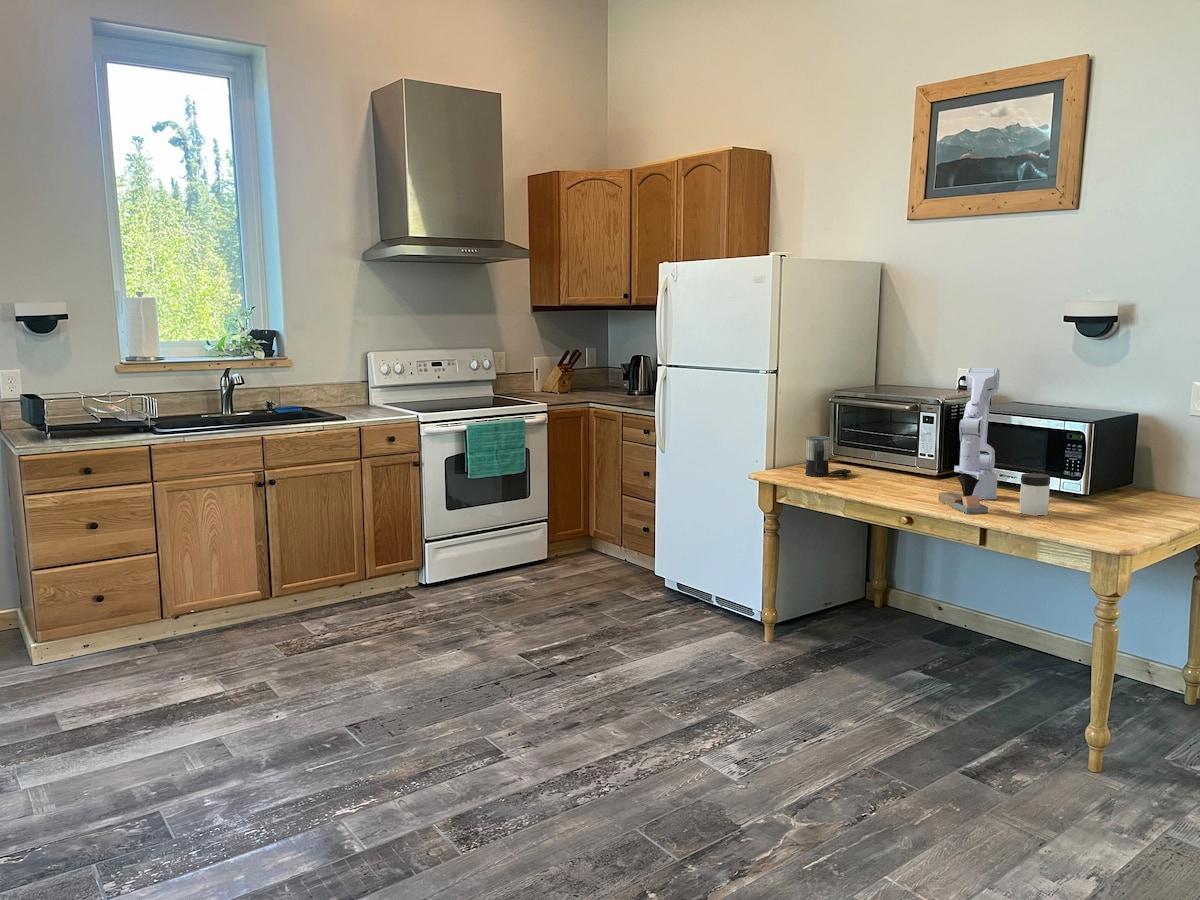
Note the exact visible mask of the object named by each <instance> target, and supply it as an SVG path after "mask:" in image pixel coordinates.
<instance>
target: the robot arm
mask: <svg viewBox="0 0 1200 900" xmlns="http://www.w3.org/2000/svg"><path fill="white" fill-rule="evenodd" d="M1000 374H1001V373H1000V368H999V367H993V368H992V367H970V366H969V367H968V368H967V369H966V372H965V384H966V387H967V390H968V392H970V393H971V394H970V400H969V401H967V402H966V404H965V408H964V411H963V413H964V414H963V417H962V419H960V421H959V428H958V429H959V431H958V432H959V441H960V446H959V447H960V449H959V465H954V469H953V471H954V473H959V474H961V475H957V479H958V481H959V484H960V486H961V490H962V493H963V496H964V497H965V496H972V495H979V501H982V499H984V500H998V496H997V493H998V491H997V490H998V477H997V473H995V472H994V469H995V464H996V463H995V462H996V455H995V453H996V450H995V449H994V447H992V446H991V445H990V444H988V443H987V441H988V439H987V438H988V429H989V428H988V427H989V415H990V403H991V398H992V396H993V395H994V394H996V393H998V390H999V389H1000V388H999V387H1000V378H1001V375H1000Z"/></svg>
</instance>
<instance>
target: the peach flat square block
mask: <svg viewBox="0 0 1200 900" xmlns="http://www.w3.org/2000/svg"><path fill="white" fill-rule="evenodd" d="M962 500H963V505H964V506H965V507H980V504H981V502H980V501H981V500H979V495H972V496H965V497H962Z"/></svg>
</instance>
